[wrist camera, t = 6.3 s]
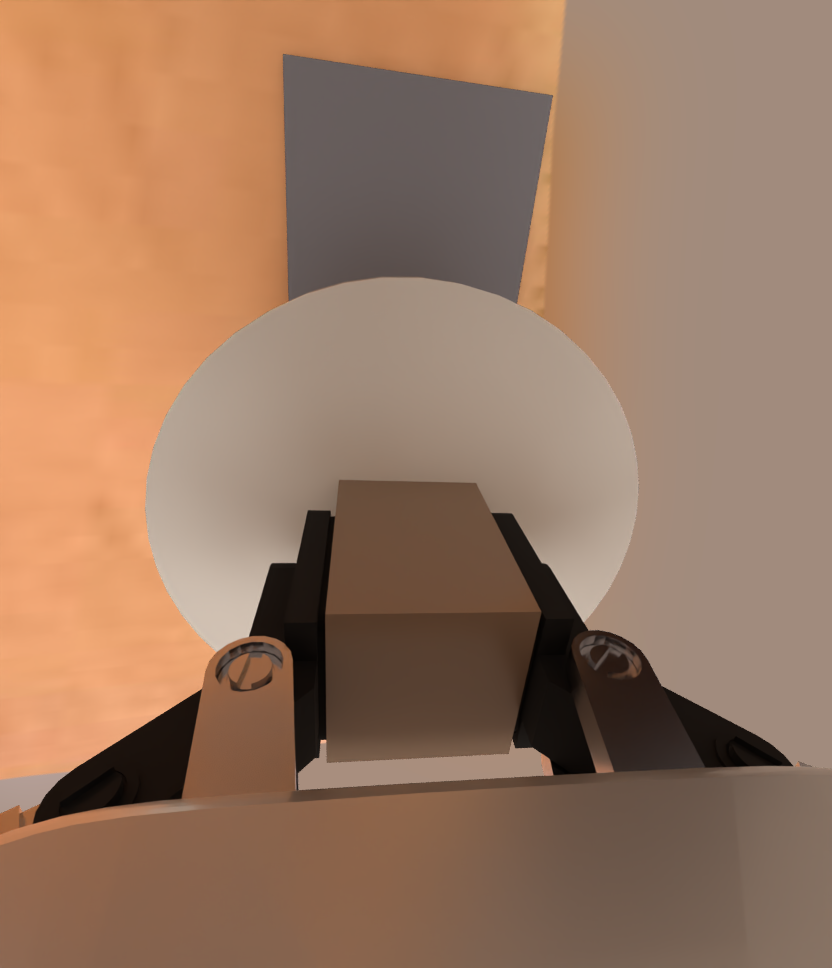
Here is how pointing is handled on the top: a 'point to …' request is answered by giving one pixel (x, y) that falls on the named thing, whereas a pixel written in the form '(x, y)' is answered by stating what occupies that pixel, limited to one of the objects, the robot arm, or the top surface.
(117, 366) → the top surface
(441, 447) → the lid
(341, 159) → the mat
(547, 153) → the top surface
